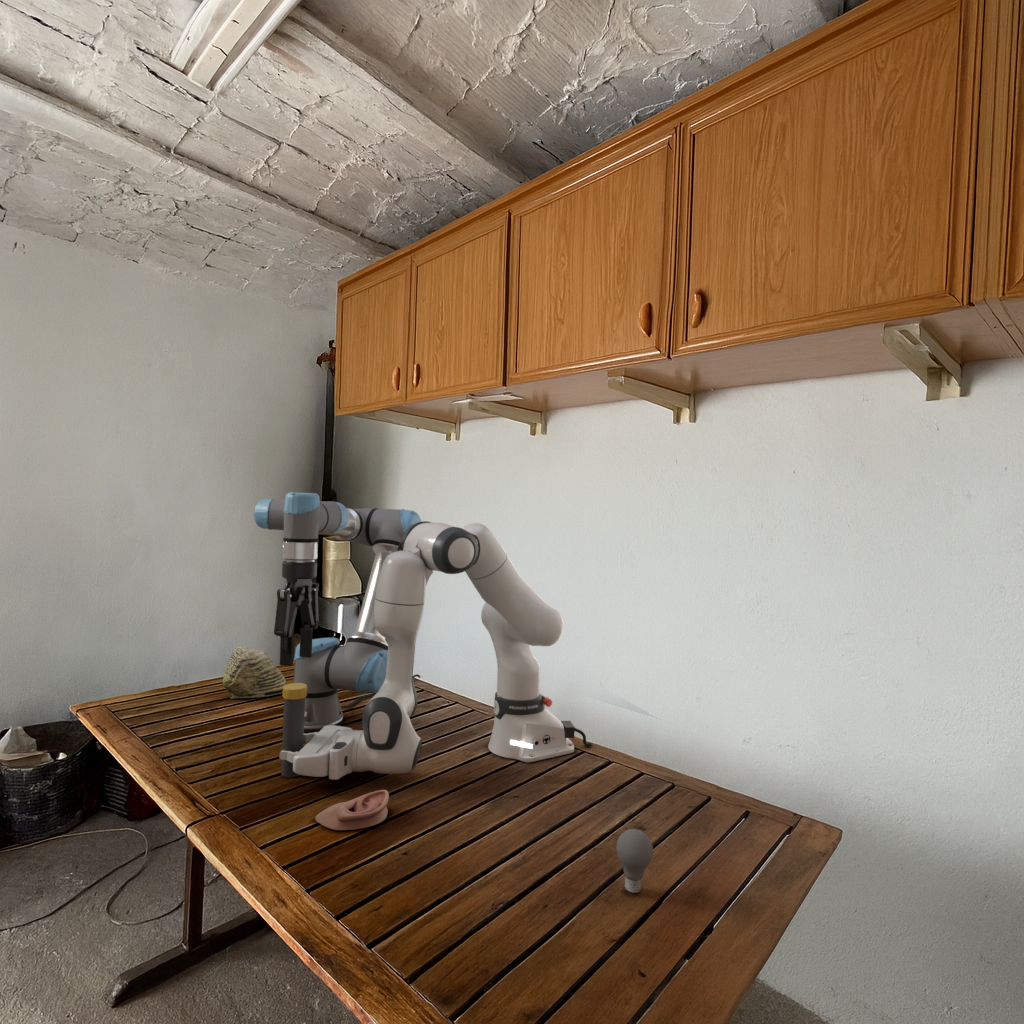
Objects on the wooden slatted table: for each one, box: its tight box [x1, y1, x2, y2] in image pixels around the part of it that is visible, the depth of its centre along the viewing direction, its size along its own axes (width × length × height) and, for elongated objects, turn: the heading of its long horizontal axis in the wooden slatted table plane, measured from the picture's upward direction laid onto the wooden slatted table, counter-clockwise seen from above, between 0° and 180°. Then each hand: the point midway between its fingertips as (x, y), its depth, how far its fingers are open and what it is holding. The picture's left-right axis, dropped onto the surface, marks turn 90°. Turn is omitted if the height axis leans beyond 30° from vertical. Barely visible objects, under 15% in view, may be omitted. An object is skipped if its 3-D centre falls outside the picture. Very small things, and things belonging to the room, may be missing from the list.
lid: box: [282, 682, 307, 700], centre depth 144 cm, size 5×5×2 cm
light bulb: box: [615, 828, 654, 894], centre depth 106 cm, size 6×6×10 cm
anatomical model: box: [314, 789, 390, 831], centre depth 126 cm, size 13×4×12 cm
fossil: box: [222, 646, 287, 699], centre depth 198 cm, size 9×18×15 cm, turn 132°
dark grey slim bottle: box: [280, 698, 305, 779], centre depth 144 cm, size 4×4×20 cm
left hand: (296, 660), depth 144 cm, fingers open, 7 cm apart
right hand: (289, 745), depth 144 cm, fingers open, 8 cm apart
